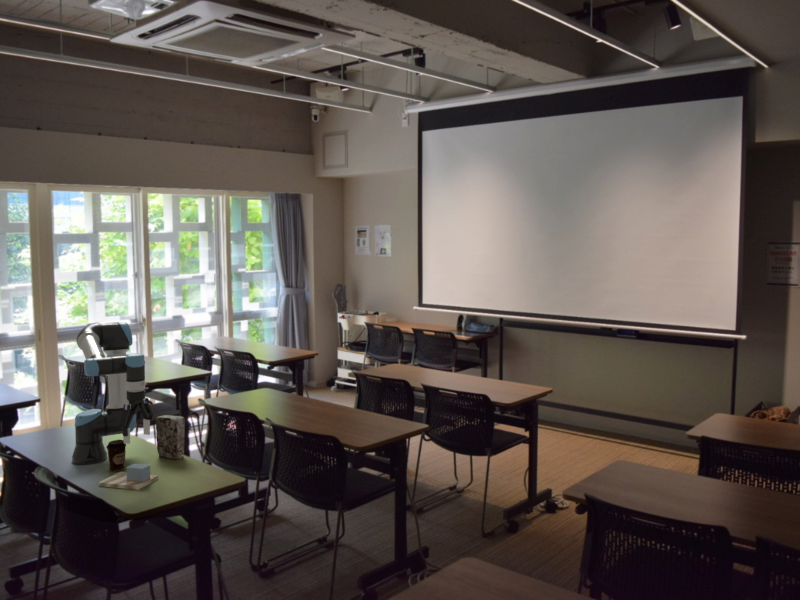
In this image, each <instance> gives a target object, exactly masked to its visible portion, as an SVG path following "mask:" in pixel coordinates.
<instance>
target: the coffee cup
mask: <svg viewBox="0 0 800 600" xmlns="http://www.w3.org/2000/svg"><path fill="white" fill-rule="evenodd" d="M126 447H127V444H126V443H124V440H123V439H115V440H111V441H109V442H108V443H107V445H106V448H105V449H106V451H107V460H108V464H109V465H108V467H109V471H110V472H122V471H123V470H125V462H126Z"/></svg>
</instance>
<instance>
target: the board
mask: <svg viewBox="0 0 800 600" xmlns="http://www.w3.org/2000/svg"><path fill="white" fill-rule="evenodd" d="M158 479H159V475H156V474H155V475H154V474H150V479H149V480H147V481H145V482H143V483H142V482H132V481H127V471H118V472H117V473H115V474H113V475H111V476H109V477H107V478H104V479H103V480H101V481H99V482H98V487H106V488H116V489H125V490H134V491H140V490H141V489H143V488H145V487H147V486H148V485H150V484H151V483H154V482H155V481H157V480H158Z"/></svg>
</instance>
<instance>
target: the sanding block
mask: <svg viewBox="0 0 800 600" xmlns="http://www.w3.org/2000/svg"><path fill="white" fill-rule="evenodd" d="M126 472H127V481H132V482H142V483H143V482H145V481H147V480H149V479H150V475H151V464H142V463H131V464H130V465H129V466H126Z"/></svg>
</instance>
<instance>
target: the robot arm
mask: <svg viewBox="0 0 800 600" xmlns="http://www.w3.org/2000/svg"><path fill="white" fill-rule="evenodd" d="M76 345H77V347H78V348H79V350H81V351H82V353H83V355H84V357H85V359H84V363H83V369H84V370H83V371H84V375H85V376H87V377H99V376H107V382H108V383H107V384H108V386H107V387H108V405H107V406H106V407H105V411H103V410H102V409H100V408H91V409H86V410H83V411H81V412H78V413H77V414H76V415H75V417H74V429H75V431H74V432H75V433H74V434H75V446H74V449H73V452H72V455H71V463H72V464H76V465H91V464H92V465H93V464H98V463H101V462H104V461H105V460H108V451H107V449H106V448H105V445H104V443H103V437H109V436H115V435H122V437H123V438H122V440H124V443H125V444H126V445H127V444H128V445H129V444H130V445H131V432H133V431H134V430H135V427H136V421H137V413H138V412H139V413H140V414H141V416H143V420H142V422H143V427H142V428H143V435H146V436H150V435H151V429H150V428H151V420H153V417H154V413H153V410H152V407H151V405H150V400H149V398H148V397H146V390H145V389H146V371H145V370H146V367H145V366H146V361H145V354H143V353H135V352H134V353H129V354H128V353H127V352H128V351H129V350H130V346H132V345H133V334H132V330H131V327H130V325H129V323H127V322H123V321H121V322H120V321H115V322H101V323H100V322H99V323H96V322H95V323H91V324H89V325H87V326H84V327H83V328H82V329H81V330H80V331H79V332H78V333H77V336H76ZM102 348H103V349H102ZM104 353H105V354H106V356H105V354H104Z"/></svg>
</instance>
